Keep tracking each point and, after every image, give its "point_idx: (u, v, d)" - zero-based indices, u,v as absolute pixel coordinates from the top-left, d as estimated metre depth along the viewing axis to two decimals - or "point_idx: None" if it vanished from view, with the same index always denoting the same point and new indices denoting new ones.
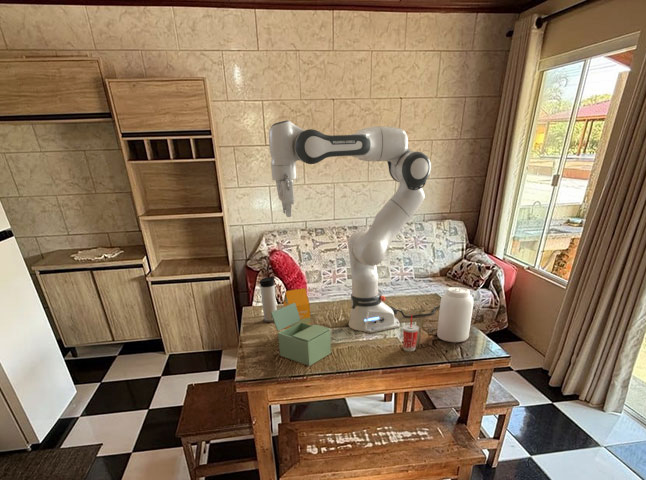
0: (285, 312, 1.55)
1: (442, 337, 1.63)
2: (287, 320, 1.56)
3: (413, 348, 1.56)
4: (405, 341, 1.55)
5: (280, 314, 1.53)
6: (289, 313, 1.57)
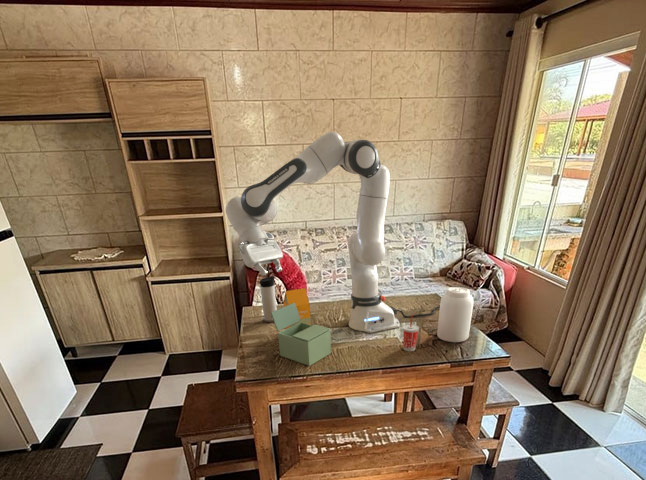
0: (285, 312, 1.55)
1: (442, 337, 1.63)
2: (287, 320, 1.56)
3: (413, 348, 1.56)
4: (405, 341, 1.55)
5: (280, 314, 1.53)
6: (289, 313, 1.57)
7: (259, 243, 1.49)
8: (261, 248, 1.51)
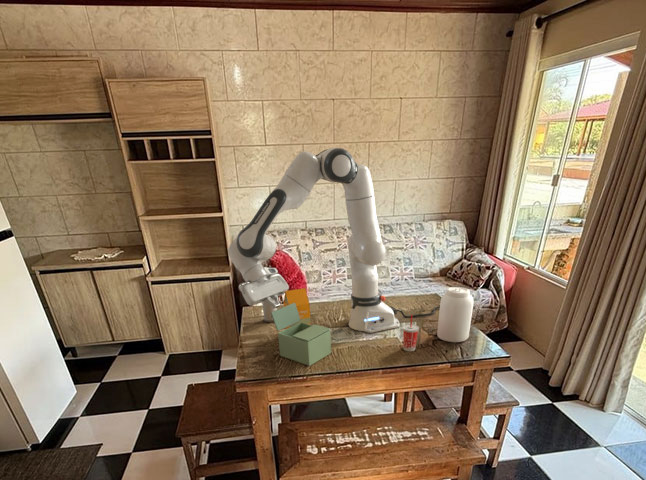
0: (285, 312, 1.55)
1: (442, 337, 1.63)
2: (287, 320, 1.56)
3: (413, 348, 1.56)
4: (405, 341, 1.55)
5: (280, 314, 1.53)
6: (289, 313, 1.57)
7: (260, 281, 1.54)
8: (263, 285, 1.56)
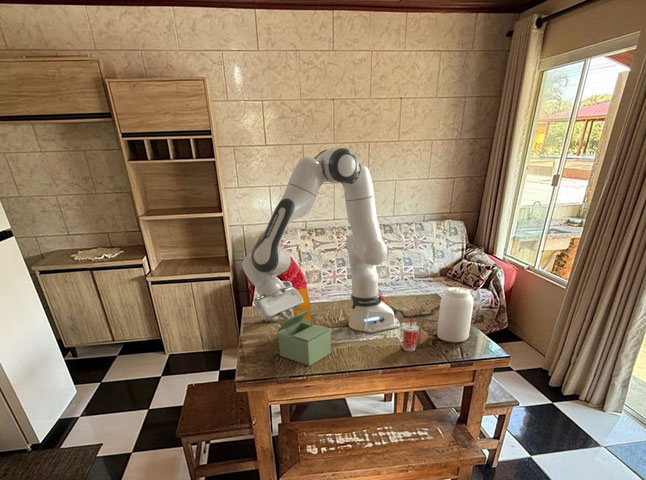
0: (296, 318, 1.53)
1: (442, 337, 1.63)
2: (291, 323, 1.55)
3: (413, 348, 1.56)
4: (405, 341, 1.55)
5: (290, 321, 1.51)
6: (298, 318, 1.55)
7: (275, 295, 1.52)
8: (278, 299, 1.53)
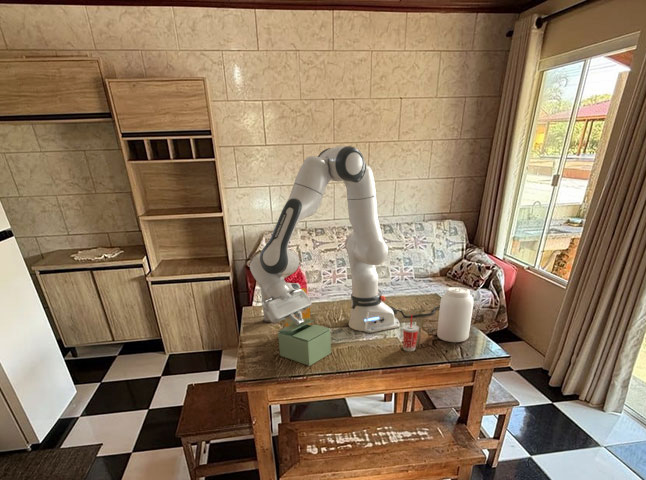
0: None
1: (442, 337, 1.63)
2: None
3: (413, 348, 1.56)
4: (405, 341, 1.55)
5: None
6: None
7: (283, 297, 1.50)
8: (286, 301, 1.51)
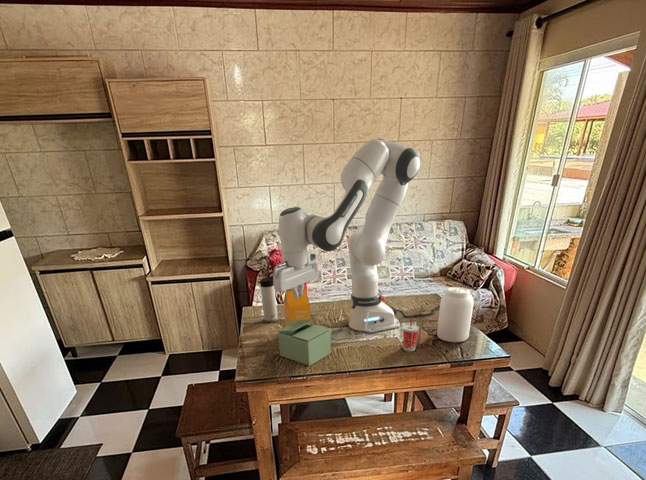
0: None
1: (442, 337, 1.63)
2: None
3: (413, 348, 1.56)
4: (405, 341, 1.55)
5: None
6: None
7: (297, 268, 1.39)
8: (297, 271, 1.41)
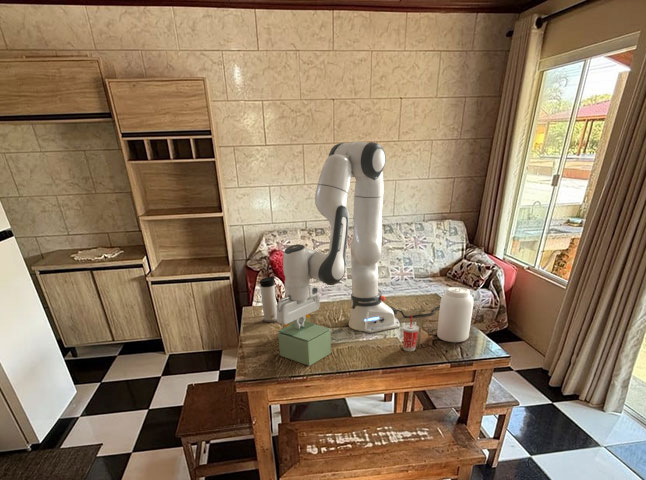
0: None
1: (442, 337, 1.63)
2: None
3: (413, 348, 1.56)
4: (405, 341, 1.55)
5: None
6: None
7: (300, 302, 1.45)
8: (300, 305, 1.47)
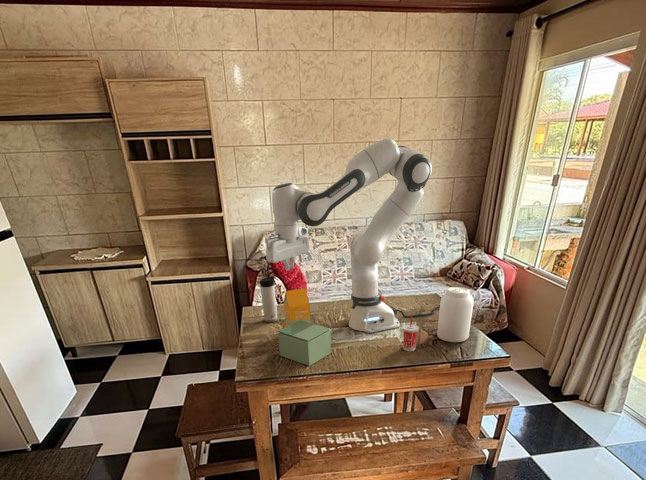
0: None
1: (442, 337, 1.63)
2: None
3: (413, 348, 1.56)
4: (405, 341, 1.55)
5: None
6: None
7: (289, 241, 1.49)
8: (289, 244, 1.51)
